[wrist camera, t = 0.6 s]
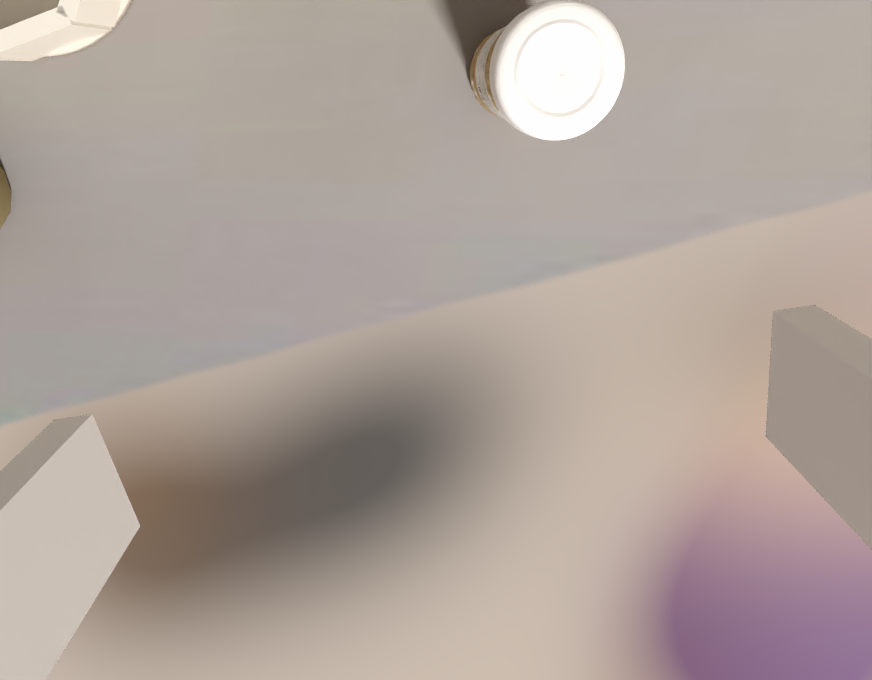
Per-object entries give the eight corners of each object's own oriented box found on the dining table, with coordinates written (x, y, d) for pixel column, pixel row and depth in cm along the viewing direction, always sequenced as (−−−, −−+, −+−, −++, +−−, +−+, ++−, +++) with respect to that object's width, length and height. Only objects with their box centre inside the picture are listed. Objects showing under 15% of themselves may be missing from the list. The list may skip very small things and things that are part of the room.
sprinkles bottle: (565, 92, 34) (647, 103, 22) (489, 133, 35) (527, 165, 23) (531, 8, 33) (599, -32, 20) (453, 52, 33) (471, 39, 21)
